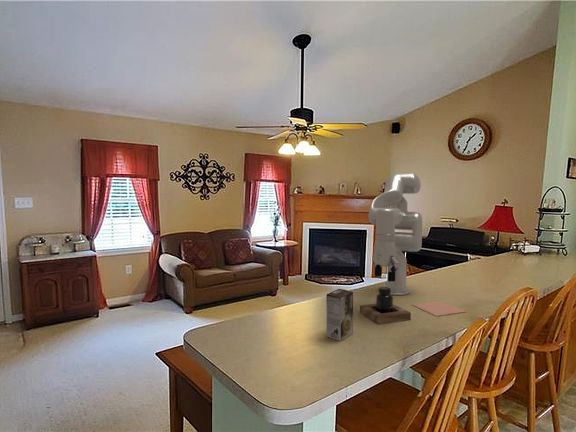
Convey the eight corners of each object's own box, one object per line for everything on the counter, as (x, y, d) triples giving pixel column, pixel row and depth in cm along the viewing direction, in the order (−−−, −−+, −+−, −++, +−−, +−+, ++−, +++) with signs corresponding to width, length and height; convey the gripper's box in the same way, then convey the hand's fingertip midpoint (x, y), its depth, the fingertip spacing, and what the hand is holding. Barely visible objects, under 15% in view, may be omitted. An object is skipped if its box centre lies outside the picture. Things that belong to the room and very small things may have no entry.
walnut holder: (359, 312, 154) (359, 305, 154) (389, 308, 159) (389, 301, 158) (378, 324, 140) (378, 316, 139) (410, 319, 144) (410, 312, 144)
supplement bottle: (393, 319, 145) (393, 290, 144) (376, 318, 146) (376, 290, 146) (391, 313, 152) (392, 286, 151) (375, 312, 153) (376, 285, 152)
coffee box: (338, 329, 135) (338, 288, 134) (353, 333, 131) (353, 291, 130) (325, 337, 128) (325, 293, 127) (341, 341, 124) (341, 296, 123)
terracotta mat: (411, 305, 163) (411, 304, 163) (439, 301, 168) (439, 300, 168) (436, 316, 148) (436, 315, 148) (466, 312, 153) (466, 311, 153)
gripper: (366, 236, 154) (365, 275, 154) (389, 240, 137) (389, 284, 138) (381, 235, 156) (380, 273, 157) (405, 240, 140) (405, 282, 140)
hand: (384, 278), depth 147 cm, fingers open, 9 cm apart
